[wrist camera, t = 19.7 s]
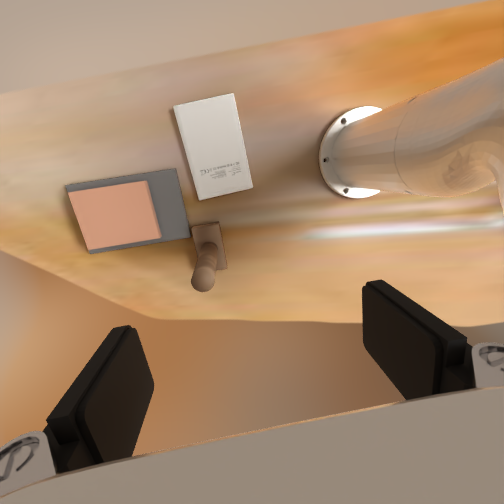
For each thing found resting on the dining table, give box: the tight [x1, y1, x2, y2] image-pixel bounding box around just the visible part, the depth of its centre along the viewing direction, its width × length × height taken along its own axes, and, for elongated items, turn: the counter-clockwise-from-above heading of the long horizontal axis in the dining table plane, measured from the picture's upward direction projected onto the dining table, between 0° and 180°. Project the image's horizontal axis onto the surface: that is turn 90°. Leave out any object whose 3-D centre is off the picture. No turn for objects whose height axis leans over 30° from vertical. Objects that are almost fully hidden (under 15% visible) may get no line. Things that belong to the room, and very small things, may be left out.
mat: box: [65, 169, 191, 254], centre depth 37 cm, size 15×10×1 cm, turn 99°
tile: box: [68, 181, 161, 250], centre depth 36 cm, size 1×8×10 cm
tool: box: [191, 222, 227, 292], centre depth 34 cm, size 4×7×14 cm, turn 9°
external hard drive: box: [173, 93, 253, 200], centre depth 36 cm, size 2×8×12 cm
